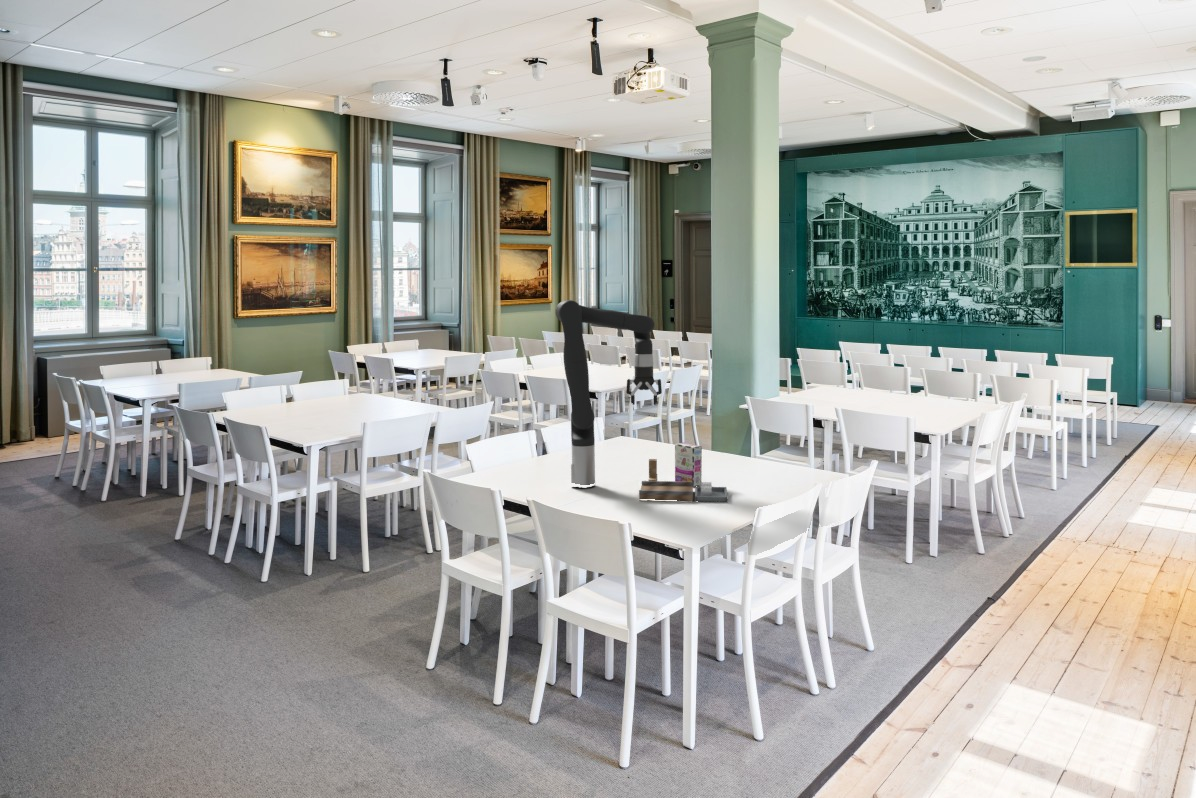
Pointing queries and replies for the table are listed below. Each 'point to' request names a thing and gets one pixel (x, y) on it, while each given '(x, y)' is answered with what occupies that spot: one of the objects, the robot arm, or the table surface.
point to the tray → (717, 495)
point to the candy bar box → (688, 463)
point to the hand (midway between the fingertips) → (644, 404)
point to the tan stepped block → (652, 470)
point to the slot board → (666, 490)
